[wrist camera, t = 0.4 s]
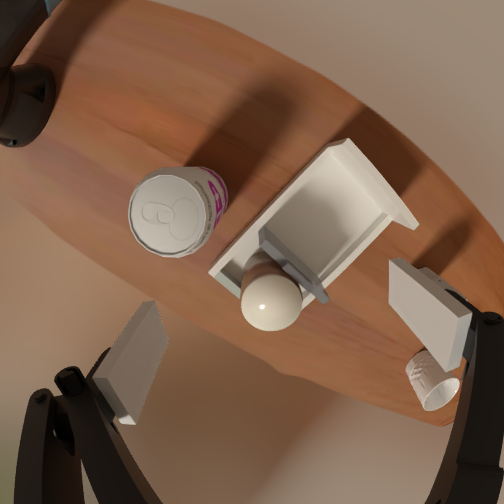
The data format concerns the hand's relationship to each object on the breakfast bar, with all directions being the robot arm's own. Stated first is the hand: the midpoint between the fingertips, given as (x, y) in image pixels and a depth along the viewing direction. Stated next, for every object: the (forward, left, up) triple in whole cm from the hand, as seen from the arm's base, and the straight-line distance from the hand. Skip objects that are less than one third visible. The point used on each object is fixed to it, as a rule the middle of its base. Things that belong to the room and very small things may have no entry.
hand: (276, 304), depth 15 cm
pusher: (+6, -1, -23) cm, 24 cm away
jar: (+6, -5, -23) cm, 24 cm away
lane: (+6, +2, -24) cm, 25 cm away
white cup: (+42, +1, -25) cm, 48 cm away
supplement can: (-8, -4, -25) cm, 26 cm away
